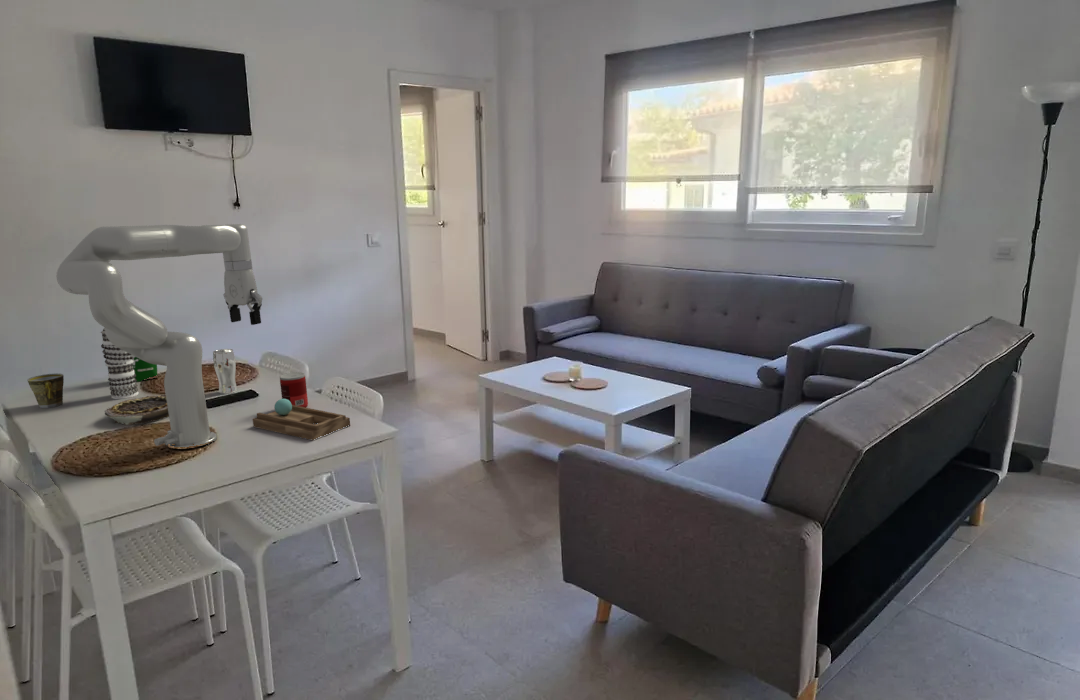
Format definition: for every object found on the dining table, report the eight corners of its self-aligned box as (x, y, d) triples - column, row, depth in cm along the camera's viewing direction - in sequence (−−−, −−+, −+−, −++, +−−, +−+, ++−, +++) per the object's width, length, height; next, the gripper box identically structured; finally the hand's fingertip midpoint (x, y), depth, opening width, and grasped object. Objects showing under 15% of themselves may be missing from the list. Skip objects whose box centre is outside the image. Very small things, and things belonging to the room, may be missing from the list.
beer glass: (219, 390, 244) (213, 349, 241) (240, 388, 246) (234, 347, 243) (216, 395, 238) (210, 353, 235) (237, 393, 240) (232, 352, 237)
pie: (209, 412, 220) (207, 397, 219) (120, 438, 199) (117, 422, 197) (164, 399, 236) (162, 385, 235) (78, 422, 214) (75, 407, 213)
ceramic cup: (31, 405, 232) (25, 377, 229) (66, 399, 238) (61, 371, 236) (35, 413, 222) (29, 384, 220) (72, 407, 228) (66, 378, 226)
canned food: (312, 404, 225) (308, 372, 222) (301, 411, 217) (298, 378, 215) (290, 403, 226) (286, 372, 223) (278, 411, 218) (275, 378, 215)
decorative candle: (119, 400, 234) (107, 329, 229) (104, 397, 239) (92, 327, 233) (145, 393, 242) (134, 325, 237) (130, 390, 247) (119, 323, 241)
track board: (313, 440, 190) (311, 428, 190) (253, 426, 203) (252, 415, 203) (350, 425, 202) (349, 413, 201) (291, 413, 215) (290, 402, 214)
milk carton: (135, 383, 257) (126, 331, 253) (130, 378, 264) (122, 328, 259) (160, 378, 263) (153, 328, 258) (155, 374, 269) (148, 325, 265)
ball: (282, 418, 203) (280, 402, 202) (271, 415, 205) (269, 400, 204) (296, 413, 207) (294, 397, 206) (285, 411, 209) (283, 395, 208)
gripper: (209, 266, 203) (217, 322, 207) (245, 268, 194) (252, 327, 198) (232, 264, 209) (239, 318, 213) (267, 265, 200) (274, 322, 204)
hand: (246, 322), depth 205 cm, fingers open, 9 cm apart
